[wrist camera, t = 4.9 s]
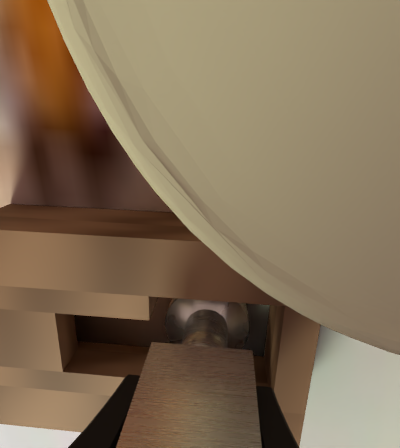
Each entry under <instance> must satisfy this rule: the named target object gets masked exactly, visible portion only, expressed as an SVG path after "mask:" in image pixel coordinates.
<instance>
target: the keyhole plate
mask: <svg viewBox="0 0 400 448" xmlns="http://www.w3.org/2000/svg"><path fill="white" fill-rule="evenodd" d="M157 297H165V298H179V299H193V300H207V301H221V302H235V303H249V304H263V305H270V307H269V316H268V325H267V334H266V343H265V352H264V357H263V356H253V360H254V371H255V382H256V386H265V387H271V388H272V389H273V390H274V393H275V396H276V398H277V401H278V403H279V406H280V408H281V410H282V413H283V415H284V417H285V419H286V422H287V424H288V426H289V428H290V430H291V432H292V434H293V436H294V438H295V440H296V442H297V444H298V446H299V445H300V439H301V433H302V427H303V422H304V416H305V410H306V405H307V399H308V393H309V388H310V382H311V376H312V370H313V365H314V359H315V353H316V348H317V342H318V336H319V330H320V325H321V324H319V323H317V322H315V321H313V320H311V319H309V318H307V317H305V316H303V315H301V314H300V313H298V312H296V311H295V310H293V309H291V308H290V307H288V306H286V305H285V304H283V303H281V302H280V301H278V300H276V299H275V298H273V297H271V296H270V295H268V294H266V293H265V292H264V291H262V290H261V289H260V288H258V287H257V286H256V285H254V284H253V283H251V282H250V281H249V280H247V279H246V278H245V277H243V276H242V275H241V274H239V273H238V272H236V271H235V270H234V269H232V268H231V267H230V266H229V265H228V264H226V263H225V262H224V261H223V260H222V259H221V258H220V257H219V256H218V255H216V254H215V253H214V252H213V251H212V250H211V249H210V248H209V247H208V246H206V245H205V244H204V243H203V242H202V241H201V240H200V239H199V238H197V237H196V236H195V235H194V234H193V233H192V232H191V231H190V230H189V229H188V228H187V227H186V226H185V225H184V224H183V222H182V221H181V220H180V219H179V218H178V217H177V216H176V215H175V213H171V212H152V211H133V210H114V209H95V208H76V207H57V206H37V205H18V204H9V205H6V206H4V207H2V208H0V424H7V425H17V426H26V427H36V428H46V429H55V430H65V431H75V432H83V431H84V429H85V428H86V427H87V426H88V425H89V423H90V422H91V421H92V420H93V419H94V417H95V416H96V415H97V414H98V412H99V411H100V410H101V409H102V408H103V406H104V405H105V404H106V402H107V401H108V400H109V398H110V397H111V396H112V395H113V393H114V392H115V390H116V389H117V388H118V386H119V385H120V384H121V382H122V381H123V379H124V378H125V377H126V376H127V375H128V374H130V375H141V372H142V369H143V366H144V363H145V360H146V357H147V355H148V352H149V349H150V347H142V346H130V345H118V344H106V343H94V342H82V341H77V337H76V328H75V320H74V315H85V316H98V317H111V318H124V319H137V320H150V317H151V315H152V312H153V309H154V307H155V304H156V302H157Z"/></svg>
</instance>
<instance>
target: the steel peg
mask: <svg viewBox="0 0 400 448" xmlns="http://www.w3.org/2000/svg"><path fill="white" fill-rule="evenodd" d="M165 330H166V334H167V336H168V339H169V340H170V342H171V343H172V344H169V343H157V342H152V343H151V346H150V349H149V352H148V355H147V357H146V360H145V363H144V366H143V369H142V372H141V375H140V378H139V381H138V384H137V387H136V390H135V393H134V396H133V399H132V402H131V405H130V408H129V411H128V414H127V417H126V420H125V423H124V425H123V428H122V431H121V434H120V437H119V440H118V443H117V446H116V448H262V445H261V435H260V424H259V414H258V403H257V392H256V382H255V371H254V360H253V350H243V349H241V348H242V347H243V345H244V344H245V342H246V340H247V337H248V333H249V320H248V311H247V306H246V304H245V303H235V302H221V301H207V300H193V299H179V298H172V299H171V302H170V304H169V308H168V311H167V314H166V318H165Z"/></svg>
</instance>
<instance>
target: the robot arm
mask: <svg viewBox="0 0 400 448" xmlns="http://www.w3.org/2000/svg"><path fill="white" fill-rule="evenodd" d="M139 378H140V375H130V374H128V375H127V376H126V377H125V378H124V379H123V381H122V382H121V384H120V385H119V386H118V388H117V389H116V390H115V392H114V393H113V395H112V396H111V397H110V398H109V400H108V401H107V402H106V404H105V405H104V406H103V408H102V409H101V410H100V411H99V412H98V414H97V415H96V416H95V417H94V419H93V420H92V421H91V422H90V423H89V425H88V426H87V427H86V428H85V429H84V431H83V432H82V433H81V434H80V435H79V436H78V437H77V438H76V440H75V441H74V442H73V443H72V444H71V445H70V446H69V447H68V448H116V446H117V443H118V440H119V437H120V434H121V431H122V428H123V425H124V423H125V420H126V417H127V414H128V411H129V408H130V405H131V402H132V399H133V396H134V393H135V390H136V387H137V384H138V381H139ZM256 392H257V403H258V414H259V424H260V435H261V445H262V448H299V446H298V444H297V442H296V440H295V438H294V436H293V434H292V432H291V430H290V428H289V426H288V424H287V422H286V419H285V417H284V415H283V413H282V410H281V408H280V406H279V403H278V401H277V398H276V396H275V393H274V390H273V389H272V388H271V387H265V386H256Z"/></svg>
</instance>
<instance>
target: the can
mask: <svg viewBox="0 0 400 448" xmlns="http://www.w3.org/2000/svg"><path fill="white" fill-rule="evenodd" d="M47 1H48V3H49V6H50V8H51V10H52V13H53V15H54V17H55V20H56V22H57V24H58V27H59V29H60V32H61V34H62V36H63V39H64V41H65V43H66V45H67V47H68V49H69V51H70V54H71V56H72V58H73V60H74V62H75V64H76V66H77V68H78V70H79V72H80V74H81V76H82V78H83V80H84V82H85V84H86V87H87V89H88V90H89V92H90V94H91V96H92V97H93V99H94V101H95V103H96V104H97V106H98V108H99V110H100V111H101V113H102V115H103V116H104V118H105V120H106V122H107V123H108V125H109V127H110V129H111V130H112V132H113V134H114V135H115V136H116V138H117V139H118V141H119V142H120V144H121V145H122V147H123V148H124V150H125V151H126V153H127V154H128V156H129V157H130V159H131V160H132V162H133V163H134V165H135V166H136V168H137V169H138V170H139V171H140V173H141V174H142V175H143V177H144V178H145V179H146V181H147V182H148V183H149V185H150V186H151V187H152V188H153V190H154V191H155V192H156V193H157V195H158V196H159V197H160V198H161V199H162V200H163V201H164V202H165V203H166V205H167V206H168V207H169V208H170V209H171V210H172V211H173V212H174V213H175V215H176V216H177V217H178V218H179V219H180V220H181V221H182V222H183V224H184V225H185V226H186V227H187V228H188V229H189V230H190V231H191V232H192V233H193V234H194V235H195V236H196V237H197V238H199V239H200V240H201V241H202V242H203V243H204V244H205V245H206V246H208V247H209V248H210V249H211V250H212V251H213V252H214V253H215V254H216V255H218V256H219V257H220V258H221V259H222V260H223V261H224V262H225V263H226V264H228V265H229V266H230V267H231V268H232V269H234V270H235V271H236V272H238V273H239V274H241V275H242V276H243V277H245V278H246V279H247V280H249V281H250V282H251V283H253V284H254V285H256V286H257V287H258V288H260V289H261V290H262V291H264V292H265V293H266V294H268V295H270V296H271V297H273V298H275V299H276V300H278V301H280V302H281V303H283V304H285V305H286V306H288V307H290V308H291V309H293V310H295V311H296V312H298V313H300V314H301V315H303V316H305V317H307V318H309V319H311V320H313V321H315V322H317V323H319V324H321V325H323V326H325V327H327V328H329V329H331V330H334V331H336V332H339V333H341V334H344V335H346V336H348V337H351V338H353V339H356V340H359V341H361V342H364V343H367V344H370V345H372V346H375V347H378V348H380V349H383V350H386V351H388V352H391V353H395V354H398V355H400V0H47Z"/></svg>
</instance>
